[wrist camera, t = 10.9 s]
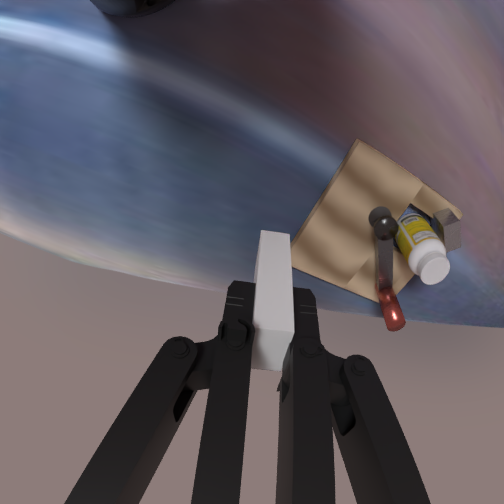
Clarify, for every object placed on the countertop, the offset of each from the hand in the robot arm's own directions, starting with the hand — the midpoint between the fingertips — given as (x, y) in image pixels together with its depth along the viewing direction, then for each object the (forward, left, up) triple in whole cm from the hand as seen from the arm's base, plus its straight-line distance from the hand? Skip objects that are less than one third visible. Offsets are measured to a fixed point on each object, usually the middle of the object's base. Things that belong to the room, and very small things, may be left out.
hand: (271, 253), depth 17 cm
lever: (+8, +23, -24) cm, 34 cm away
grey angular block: (-2, +29, -26) cm, 40 cm away
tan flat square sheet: (+6, +21, -26) cm, 34 cm away
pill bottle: (+3, +26, -27) cm, 37 cm away
